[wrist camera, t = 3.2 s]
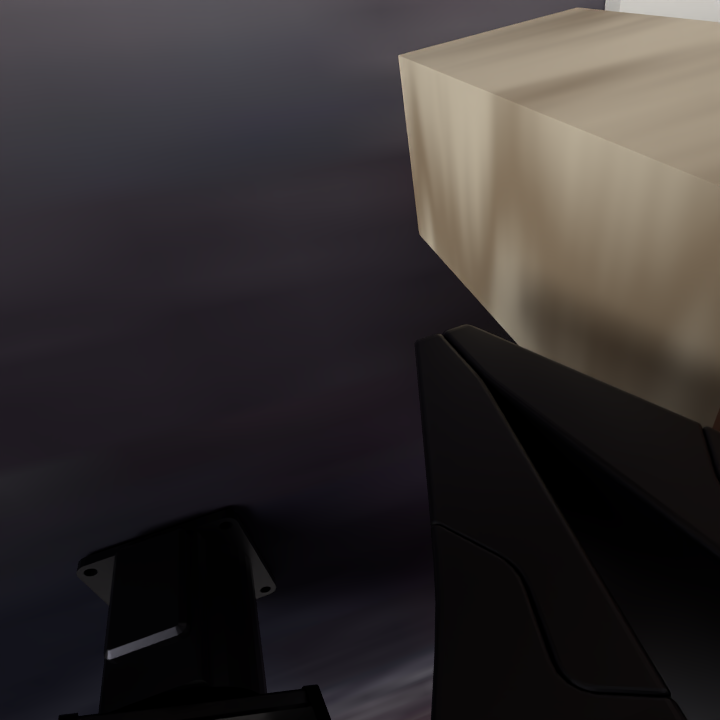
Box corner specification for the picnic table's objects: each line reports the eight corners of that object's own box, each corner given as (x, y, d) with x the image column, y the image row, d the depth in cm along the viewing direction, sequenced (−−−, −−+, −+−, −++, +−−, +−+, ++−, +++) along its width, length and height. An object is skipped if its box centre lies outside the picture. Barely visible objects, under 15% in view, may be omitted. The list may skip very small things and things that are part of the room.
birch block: (564, 190, 17) (1031, 462, 8) (419, 234, 16) (730, 582, 7) (577, 7, 14) (1410, 93, 4) (397, 54, 13) (911, 264, 4)
